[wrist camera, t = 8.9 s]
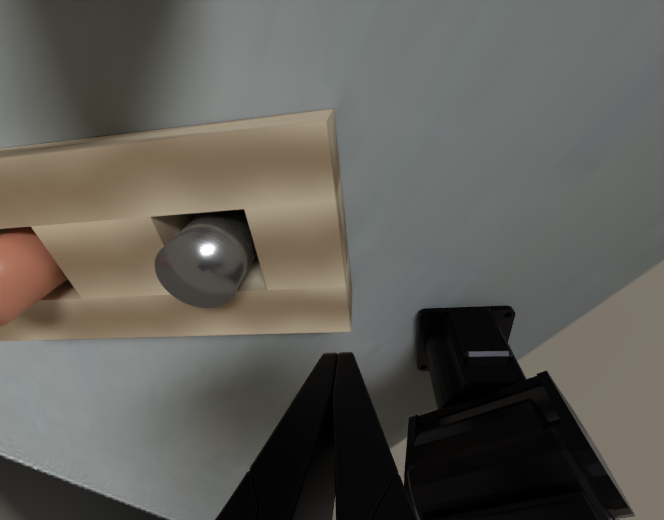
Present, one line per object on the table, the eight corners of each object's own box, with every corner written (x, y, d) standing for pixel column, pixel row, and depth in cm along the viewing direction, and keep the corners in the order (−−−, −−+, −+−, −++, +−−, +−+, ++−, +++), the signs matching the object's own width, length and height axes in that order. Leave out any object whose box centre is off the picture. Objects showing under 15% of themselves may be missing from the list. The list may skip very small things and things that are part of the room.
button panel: (352, 291, 22) (351, 331, 19) (40, 304, 25) (-8, 341, 22) (333, 108, 16) (326, 120, 12) (-79, 158, 19) (-173, 178, 16)
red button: (100, 268, 21) (28, 325, 16) (50, 271, 22) (-35, 328, 17) (67, 215, 19) (-27, 264, 14) (12, 219, 19) (-96, 268, 15)
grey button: (272, 251, 20) (246, 306, 16) (215, 254, 21) (174, 309, 16) (257, 193, 18) (222, 238, 14) (194, 199, 19) (139, 243, 14)
